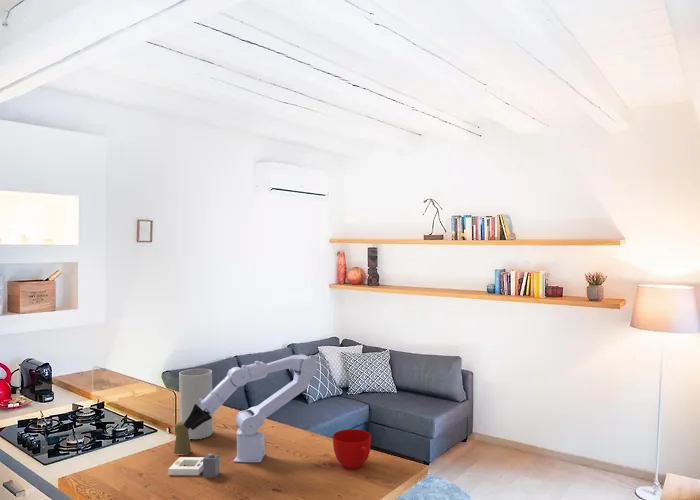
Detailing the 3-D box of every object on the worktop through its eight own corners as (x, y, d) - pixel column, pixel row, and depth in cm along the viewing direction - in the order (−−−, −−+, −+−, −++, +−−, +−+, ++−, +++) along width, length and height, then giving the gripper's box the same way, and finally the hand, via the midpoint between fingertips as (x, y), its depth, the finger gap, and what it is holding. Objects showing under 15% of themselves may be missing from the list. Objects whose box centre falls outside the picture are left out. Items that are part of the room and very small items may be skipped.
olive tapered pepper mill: (186, 456, 191) (185, 425, 191) (170, 455, 192) (170, 424, 192) (194, 450, 197) (193, 420, 197) (179, 448, 198) (178, 419, 198)
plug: (219, 472, 177) (218, 451, 177) (215, 477, 173) (215, 456, 173) (207, 472, 177) (206, 451, 177) (203, 477, 173) (203, 456, 173)
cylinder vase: (219, 433, 215) (218, 370, 215) (195, 443, 204) (194, 377, 204) (197, 428, 221) (197, 367, 221) (173, 437, 211) (172, 373, 211)
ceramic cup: (349, 480, 169) (349, 449, 169) (326, 462, 184) (326, 433, 184) (384, 472, 175) (384, 441, 175) (359, 455, 190) (359, 426, 190)
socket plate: (208, 463, 185) (208, 456, 185) (198, 475, 175) (198, 468, 175) (179, 462, 185) (179, 456, 185) (168, 475, 175) (168, 468, 175)
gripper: (213, 390, 192) (184, 420, 187) (206, 385, 178) (175, 417, 174) (227, 404, 190) (198, 434, 186) (221, 400, 177) (190, 432, 172)
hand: (188, 427), depth 180 cm, fingers open, 7 cm apart
